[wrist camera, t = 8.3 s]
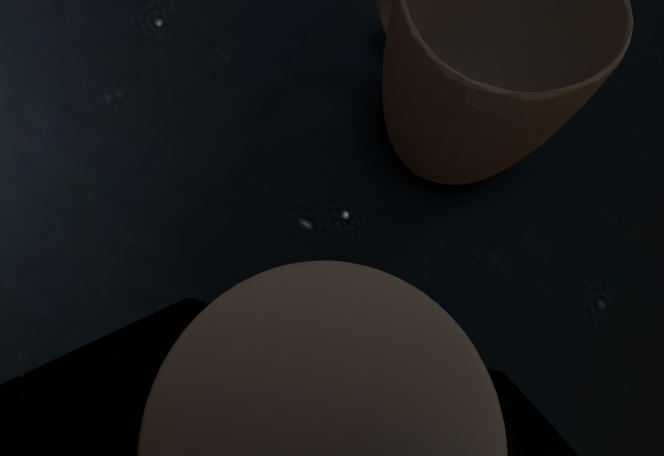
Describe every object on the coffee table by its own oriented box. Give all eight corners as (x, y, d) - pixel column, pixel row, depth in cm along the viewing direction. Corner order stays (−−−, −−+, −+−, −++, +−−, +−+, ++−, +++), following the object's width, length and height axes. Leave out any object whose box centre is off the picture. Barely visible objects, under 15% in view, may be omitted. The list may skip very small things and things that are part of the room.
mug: (553, 164, 26) (687, 37, 16) (422, 233, 24) (487, 137, 15) (434, 10, 29) (488, -167, 20) (313, 62, 28) (309, -104, 18)
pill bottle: (401, 318, 16) (517, 219, 7) (417, 501, 14) (612, 725, 5) (239, 324, 16) (121, 230, 6) (233, 510, 14) (53, 767, 4)
